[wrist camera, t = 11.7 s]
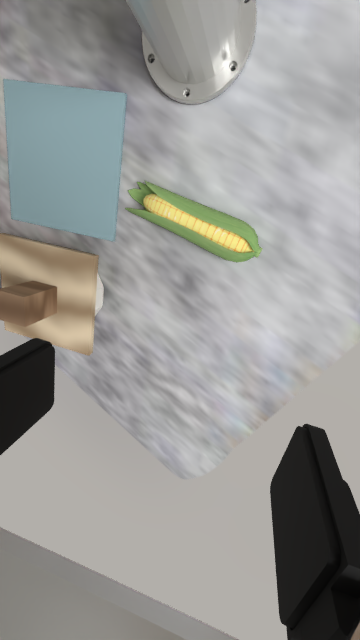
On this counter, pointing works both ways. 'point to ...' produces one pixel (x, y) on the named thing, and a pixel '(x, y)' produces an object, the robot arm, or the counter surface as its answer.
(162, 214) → the edible corn
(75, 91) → the mat
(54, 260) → the lid
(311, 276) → the counter surface
